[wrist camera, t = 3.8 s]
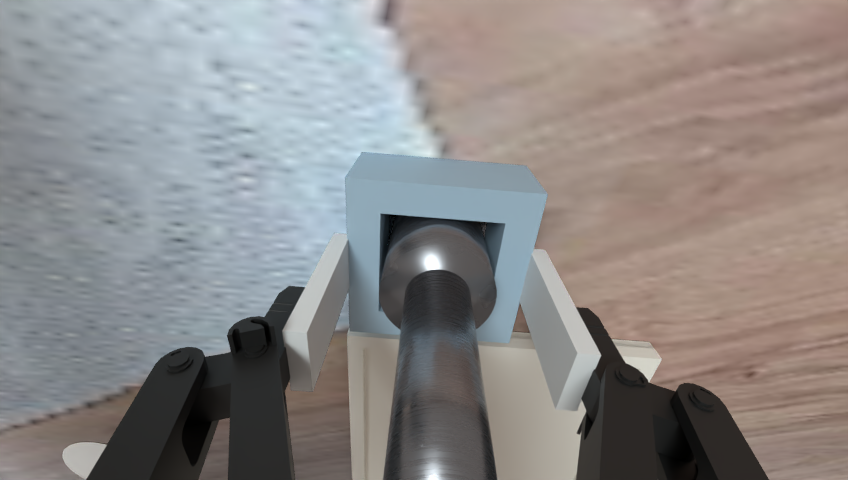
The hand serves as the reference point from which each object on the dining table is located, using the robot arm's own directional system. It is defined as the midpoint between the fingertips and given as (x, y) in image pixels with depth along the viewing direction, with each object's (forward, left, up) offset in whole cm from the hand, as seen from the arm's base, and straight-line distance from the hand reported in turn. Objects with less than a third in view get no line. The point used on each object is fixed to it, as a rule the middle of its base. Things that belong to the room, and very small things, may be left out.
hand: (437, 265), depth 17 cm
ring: (0, 0, -4) cm, 4 cm away
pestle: (0, 0, -4) cm, 4 cm away
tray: (+17, +5, -4) cm, 18 cm away
